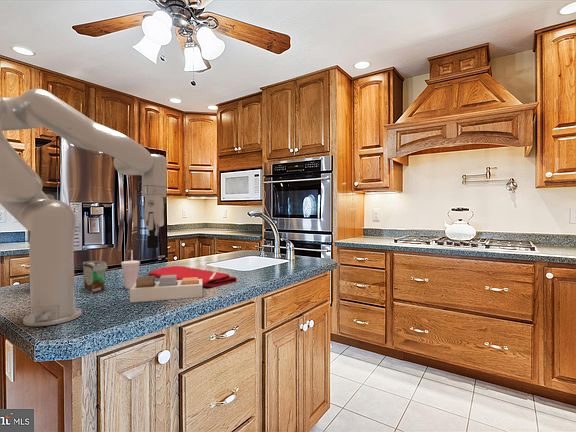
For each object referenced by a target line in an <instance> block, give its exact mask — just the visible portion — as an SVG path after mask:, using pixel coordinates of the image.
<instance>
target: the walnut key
mask: <svg viewBox="0 0 576 432" xmlns="http://www.w3.org/2000/svg"><path fill="white" fill-rule="evenodd" d="M155 282H156V277H155V276H150V275H146V276H144V275H143V276H138V278H137V279H136V288H141V287H154V286H155Z"/></svg>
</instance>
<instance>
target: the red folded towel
mask: <svg viewBox="0 0 576 432" xmlns="http://www.w3.org/2000/svg"><path fill="white" fill-rule="evenodd" d="M150 275H151V276H155V278H158V279H160V277H161V275H177V280H182V279H183V278H192V277H198V279H202V287H207V288H208V287H209V288H217V287H221V286H225V285H229V283H230V284H234V283H237V280H238V279H237V277H236V276H230V274H228V273H224V272H217V271H212V270H206V269H200V268H194V267H188V266H182V265H181V266H179V265H176V266H175V265H173V266H166V267H161V268H158V269H157V268H156V269H153V270H151V271H148V273H147V276H150ZM233 282H234V283H233Z"/></svg>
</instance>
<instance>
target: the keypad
mask: <svg viewBox="0 0 576 432" xmlns="http://www.w3.org/2000/svg"><path fill="white" fill-rule="evenodd" d="M194 298H196V299H197V298H203V286H202V279H198V284H189V285H182V280H177V285H173V286H160V280H159V281H155V286H154V287H141V288H136V283H135V284H134V285H133V286H132V288H131V289H129V303H141V302H142V303H144V302H152V301H153V302H154V301H155V302H156V301H166V300H168V301H169V300H182V299H194Z"/></svg>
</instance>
